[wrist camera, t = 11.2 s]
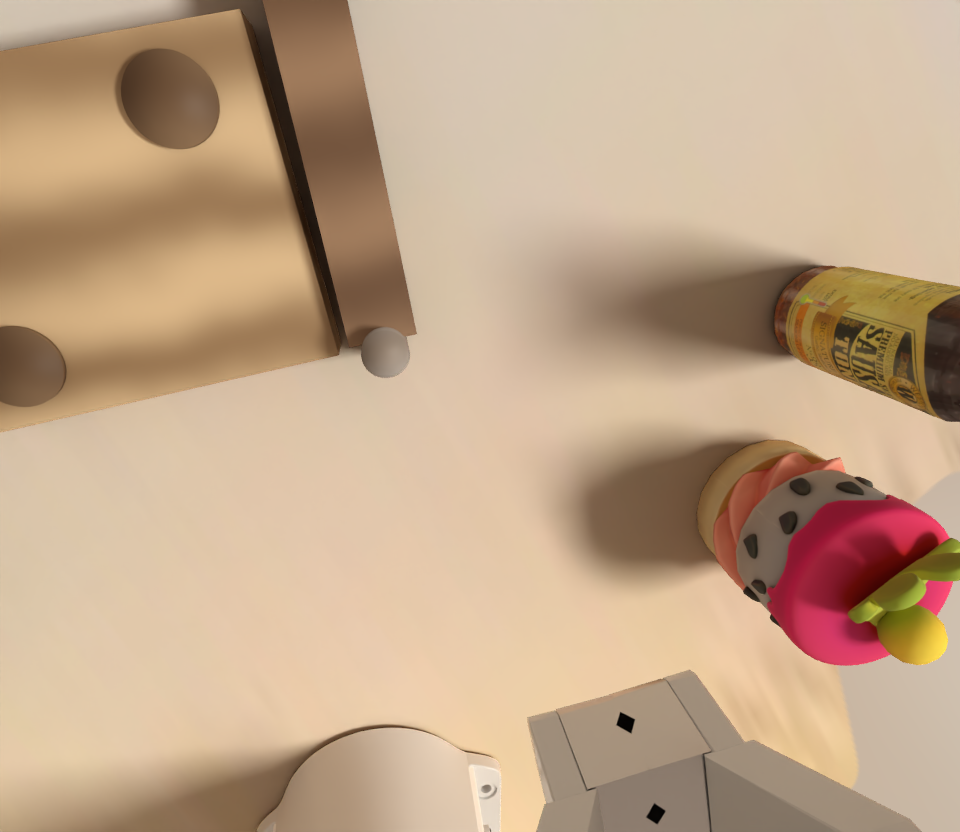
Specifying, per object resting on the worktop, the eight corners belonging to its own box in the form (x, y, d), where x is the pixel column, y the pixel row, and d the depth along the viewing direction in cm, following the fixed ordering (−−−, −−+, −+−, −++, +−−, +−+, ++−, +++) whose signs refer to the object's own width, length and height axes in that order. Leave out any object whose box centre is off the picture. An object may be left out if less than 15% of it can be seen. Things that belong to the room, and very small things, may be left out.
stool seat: (341, 342, 36) (338, 357, 32) (19, 416, 34) (-18, 438, 31) (252, 26, 30) (237, 5, 27) (-140, 96, 28) (-205, 84, 25)
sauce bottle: (751, 303, 39) (1093, 398, 20) (834, 242, 38) (1261, 282, 20) (792, 381, 41) (1133, 530, 23) (871, 324, 41) (1284, 429, 22)
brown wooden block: (418, 348, 36) (424, 370, 31) (358, 360, 36) (356, 384, 31) (331, -66, 29) (323, -116, 24) (256, -55, 29) (233, -104, 24)
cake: (851, 504, 46) (1063, 639, 32) (737, 592, 47) (893, 761, 33) (787, 405, 42) (995, 508, 28) (664, 503, 43) (805, 650, 29)
